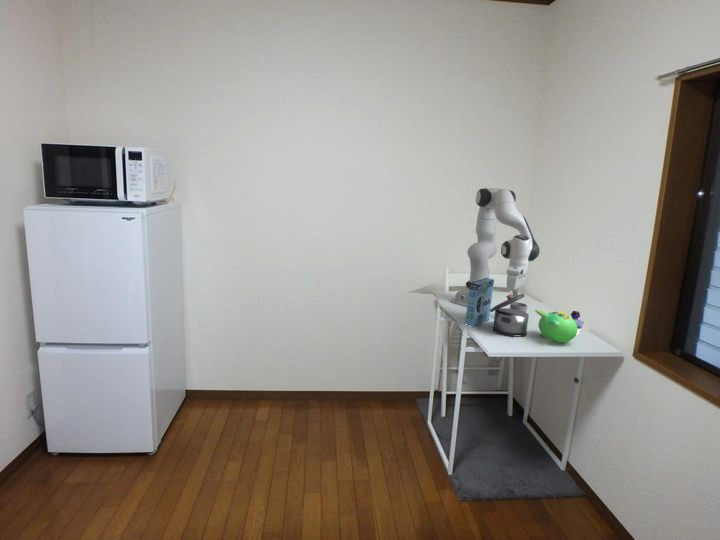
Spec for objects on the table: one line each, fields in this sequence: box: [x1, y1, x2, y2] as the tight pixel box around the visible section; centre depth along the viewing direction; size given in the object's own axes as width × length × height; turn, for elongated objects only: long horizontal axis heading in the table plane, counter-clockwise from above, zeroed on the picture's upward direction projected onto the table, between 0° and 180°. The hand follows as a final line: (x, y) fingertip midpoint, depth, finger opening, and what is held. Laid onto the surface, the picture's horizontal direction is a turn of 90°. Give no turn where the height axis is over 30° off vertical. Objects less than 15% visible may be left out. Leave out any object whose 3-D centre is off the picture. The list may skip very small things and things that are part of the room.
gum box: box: [464, 277, 495, 327], centre depth 234 cm, size 20×5×23 cm, turn 139°
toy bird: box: [534, 309, 578, 343], centre depth 213 cm, size 18×17×15 cm
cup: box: [509, 301, 528, 313], centre depth 240 cm, size 8×8×10 cm
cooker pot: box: [492, 307, 530, 338], centre depth 223 cm, size 17×21×10 cm
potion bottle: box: [570, 310, 584, 336], centre depth 225 cm, size 9×9×12 cm
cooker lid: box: [490, 292, 526, 313], centre depth 222 cm, size 18×16×4 cm
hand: (514, 296), depth 219 cm, fingers closed, pressing on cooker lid
